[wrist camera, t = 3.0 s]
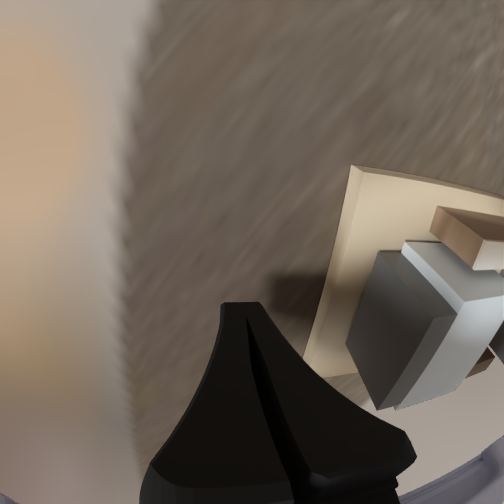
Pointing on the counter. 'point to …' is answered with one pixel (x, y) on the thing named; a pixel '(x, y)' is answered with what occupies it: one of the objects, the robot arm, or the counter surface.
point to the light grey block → (423, 323)
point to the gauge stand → (399, 249)
